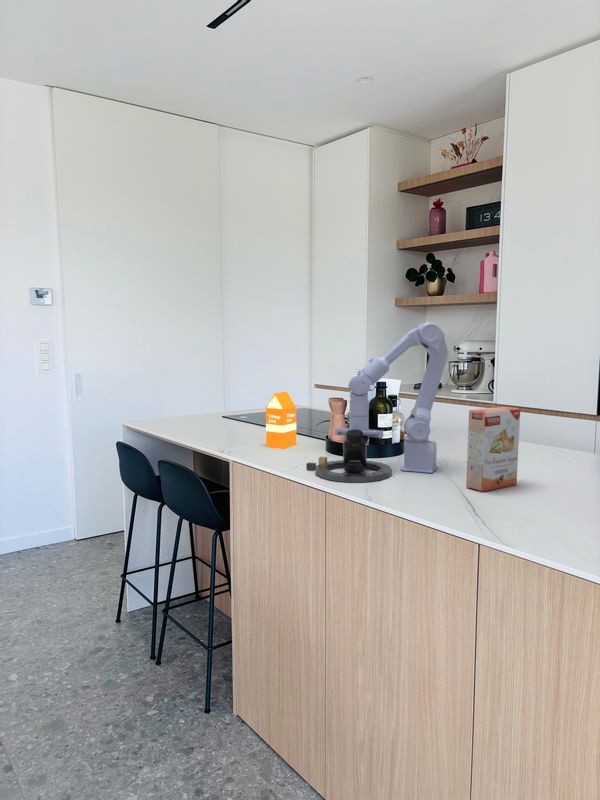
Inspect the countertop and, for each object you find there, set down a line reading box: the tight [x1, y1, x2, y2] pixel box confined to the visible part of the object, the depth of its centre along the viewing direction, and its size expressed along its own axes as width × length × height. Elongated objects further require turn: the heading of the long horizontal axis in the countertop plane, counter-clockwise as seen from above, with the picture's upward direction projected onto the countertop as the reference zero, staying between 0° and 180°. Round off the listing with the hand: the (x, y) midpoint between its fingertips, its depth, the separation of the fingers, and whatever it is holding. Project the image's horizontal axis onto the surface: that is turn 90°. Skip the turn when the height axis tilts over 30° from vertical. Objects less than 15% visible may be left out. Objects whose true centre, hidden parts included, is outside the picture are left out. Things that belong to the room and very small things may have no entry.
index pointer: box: [305, 461, 317, 471], centre depth 176 cm, size 2×2×2 cm
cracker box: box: [465, 406, 521, 492], centre depth 154 cm, size 14×6×21 cm, turn 123°
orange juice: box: [265, 391, 297, 450], centre depth 214 cm, size 8×9×20 cm
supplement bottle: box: [342, 429, 368, 474], centre depth 170 cm, size 7×7×12 cm
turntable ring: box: [315, 456, 393, 483], centre depth 171 cm, size 22×22×4 cm
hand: (358, 460), depth 176 cm, fingers closed, pressing on supplement bottle
